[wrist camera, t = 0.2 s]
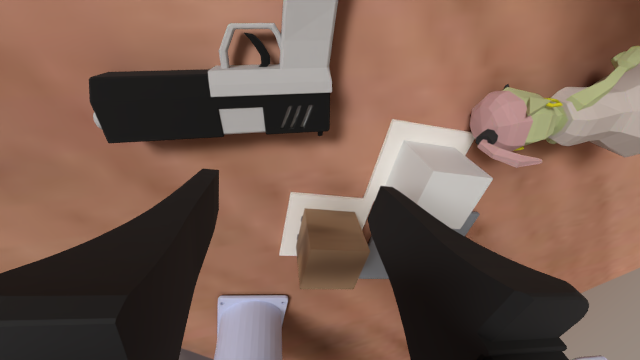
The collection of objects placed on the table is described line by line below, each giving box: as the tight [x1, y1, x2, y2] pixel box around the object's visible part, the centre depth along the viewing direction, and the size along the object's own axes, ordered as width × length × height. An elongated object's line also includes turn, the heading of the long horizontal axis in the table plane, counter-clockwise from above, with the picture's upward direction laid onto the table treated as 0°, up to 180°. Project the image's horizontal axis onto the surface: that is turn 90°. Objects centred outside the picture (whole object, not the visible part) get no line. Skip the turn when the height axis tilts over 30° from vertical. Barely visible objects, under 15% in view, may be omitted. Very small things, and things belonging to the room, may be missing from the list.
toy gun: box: [89, 0, 338, 143], centre depth 16 cm, size 3×16×12 cm
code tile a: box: [279, 192, 374, 256], centre depth 27 cm, size 8×8×1 cm
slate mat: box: [358, 211, 479, 279], centre depth 30 cm, size 11×11×1 cm
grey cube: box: [385, 140, 493, 229], centre depth 22 cm, size 5×5×5 cm
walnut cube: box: [296, 208, 370, 289], centre depth 24 cm, size 5×5×5 cm
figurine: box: [470, 46, 640, 167], centre depth 20 cm, size 9×7×15 cm
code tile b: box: [363, 119, 475, 201], centre depth 24 cm, size 8×8×1 cm
